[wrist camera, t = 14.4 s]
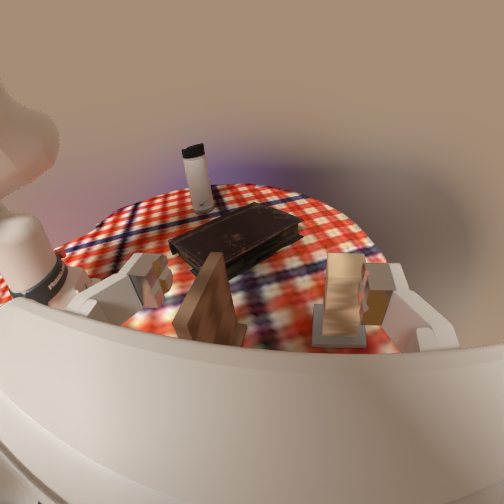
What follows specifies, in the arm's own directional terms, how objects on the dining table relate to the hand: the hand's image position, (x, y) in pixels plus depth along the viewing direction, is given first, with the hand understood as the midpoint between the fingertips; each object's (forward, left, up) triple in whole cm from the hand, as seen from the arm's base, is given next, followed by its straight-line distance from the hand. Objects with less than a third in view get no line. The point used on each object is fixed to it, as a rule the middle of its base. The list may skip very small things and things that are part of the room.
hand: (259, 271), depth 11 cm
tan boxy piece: (-13, +15, -25) cm, 32 cm away
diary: (-43, +9, -26) cm, 51 cm away
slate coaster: (-13, +15, -26) cm, 33 cm away
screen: (-15, -2, -26) cm, 30 cm away
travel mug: (-67, +5, -26) cm, 72 cm away
